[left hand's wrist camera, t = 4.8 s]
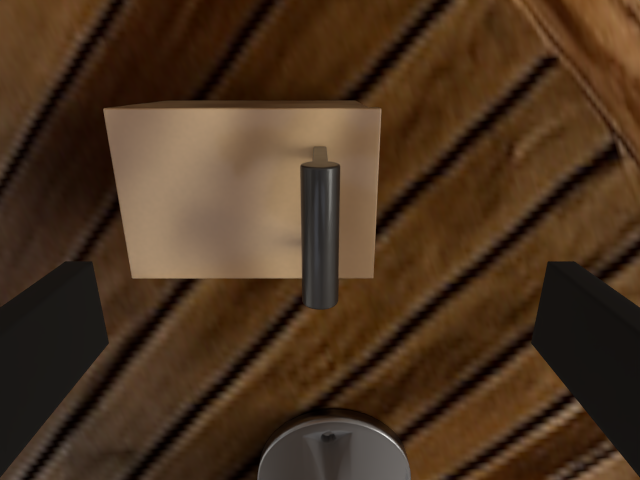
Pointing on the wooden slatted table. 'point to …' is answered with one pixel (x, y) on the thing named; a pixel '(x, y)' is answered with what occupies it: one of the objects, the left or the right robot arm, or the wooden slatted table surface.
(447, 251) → the wooden slatted table surface
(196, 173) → the lid
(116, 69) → the wooden slatted table surface
